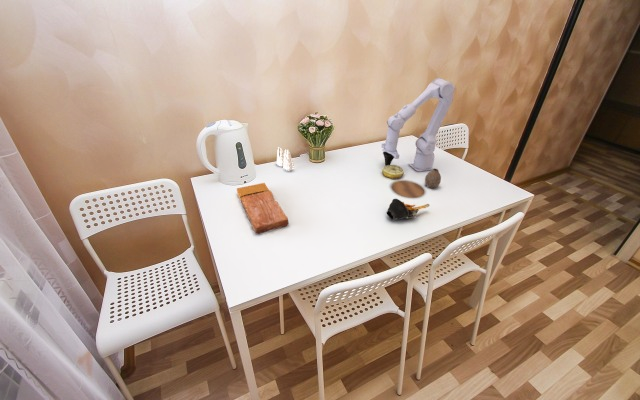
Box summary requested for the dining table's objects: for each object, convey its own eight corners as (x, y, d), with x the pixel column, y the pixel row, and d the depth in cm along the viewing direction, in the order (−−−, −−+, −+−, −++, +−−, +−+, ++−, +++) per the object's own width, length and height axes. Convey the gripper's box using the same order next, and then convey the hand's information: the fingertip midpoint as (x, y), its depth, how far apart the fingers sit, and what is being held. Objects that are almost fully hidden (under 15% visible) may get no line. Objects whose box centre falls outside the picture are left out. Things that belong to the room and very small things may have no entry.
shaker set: (295, 171, 146) (294, 151, 140) (288, 173, 144) (287, 153, 138) (282, 162, 154) (281, 143, 148) (275, 164, 152) (274, 144, 145)
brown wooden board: (265, 188, 132) (265, 181, 130) (289, 226, 110) (289, 219, 108) (237, 194, 127) (236, 187, 125) (255, 235, 105) (254, 228, 103)
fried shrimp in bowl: (378, 204, 116) (411, 181, 120) (388, 226, 120) (420, 203, 124) (393, 208, 107) (427, 184, 112) (403, 232, 111) (436, 207, 116)
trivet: (412, 179, 143) (412, 179, 143) (430, 195, 131) (431, 195, 131) (385, 183, 139) (385, 183, 139) (402, 200, 127) (402, 199, 127)
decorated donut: (406, 174, 147) (408, 168, 145) (396, 182, 140) (397, 175, 138) (389, 167, 153) (390, 161, 151) (378, 174, 146) (379, 167, 144)
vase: (436, 191, 134) (441, 174, 129) (421, 186, 137) (426, 170, 132) (440, 185, 139) (445, 168, 134) (425, 180, 142) (430, 164, 137)
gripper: (377, 136, 147) (374, 160, 155) (391, 147, 136) (387, 172, 143) (390, 135, 149) (386, 158, 157) (405, 146, 138) (399, 171, 145)
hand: (387, 165), depth 150 cm, fingers closed
